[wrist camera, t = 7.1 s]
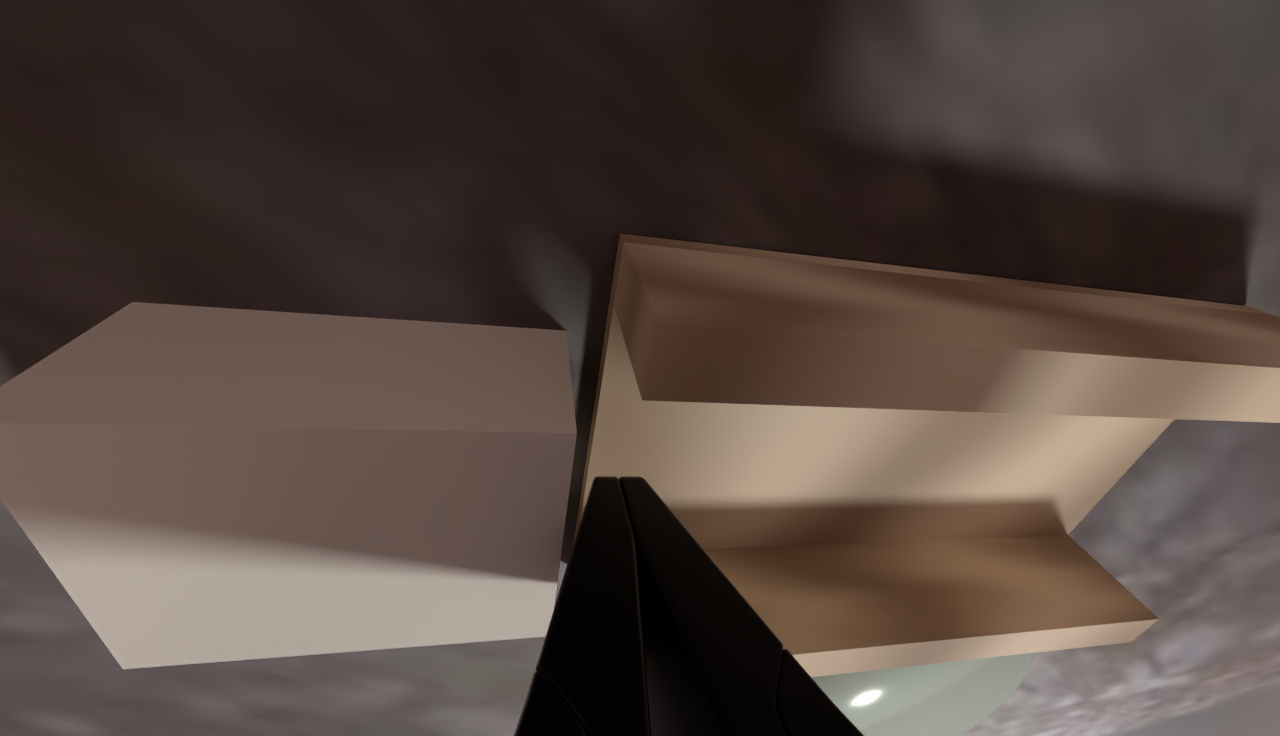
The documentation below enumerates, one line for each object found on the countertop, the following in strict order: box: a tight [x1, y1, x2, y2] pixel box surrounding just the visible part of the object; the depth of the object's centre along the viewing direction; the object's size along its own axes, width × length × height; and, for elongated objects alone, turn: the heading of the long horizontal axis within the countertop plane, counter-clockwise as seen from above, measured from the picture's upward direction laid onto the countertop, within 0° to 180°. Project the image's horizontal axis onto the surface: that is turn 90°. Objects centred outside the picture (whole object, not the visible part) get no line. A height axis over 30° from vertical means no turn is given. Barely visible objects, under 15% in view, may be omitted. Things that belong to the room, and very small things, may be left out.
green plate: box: [811, 653, 1033, 736], centre depth 18 cm, size 14×14×1 cm
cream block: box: [0, 302, 577, 669], centre depth 8 cm, size 6×4×3 cm
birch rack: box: [573, 234, 1280, 677], centre depth 10 cm, size 14×8×3 cm, turn 81°
